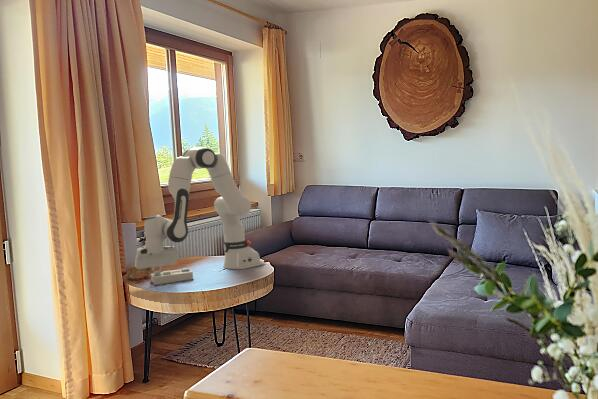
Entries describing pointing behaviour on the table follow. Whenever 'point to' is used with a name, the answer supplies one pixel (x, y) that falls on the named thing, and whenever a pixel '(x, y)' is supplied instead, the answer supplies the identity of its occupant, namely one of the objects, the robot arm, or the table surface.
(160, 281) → the keypad
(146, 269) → the lion figurine
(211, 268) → the table surface
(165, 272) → the key sage
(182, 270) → the key slate
